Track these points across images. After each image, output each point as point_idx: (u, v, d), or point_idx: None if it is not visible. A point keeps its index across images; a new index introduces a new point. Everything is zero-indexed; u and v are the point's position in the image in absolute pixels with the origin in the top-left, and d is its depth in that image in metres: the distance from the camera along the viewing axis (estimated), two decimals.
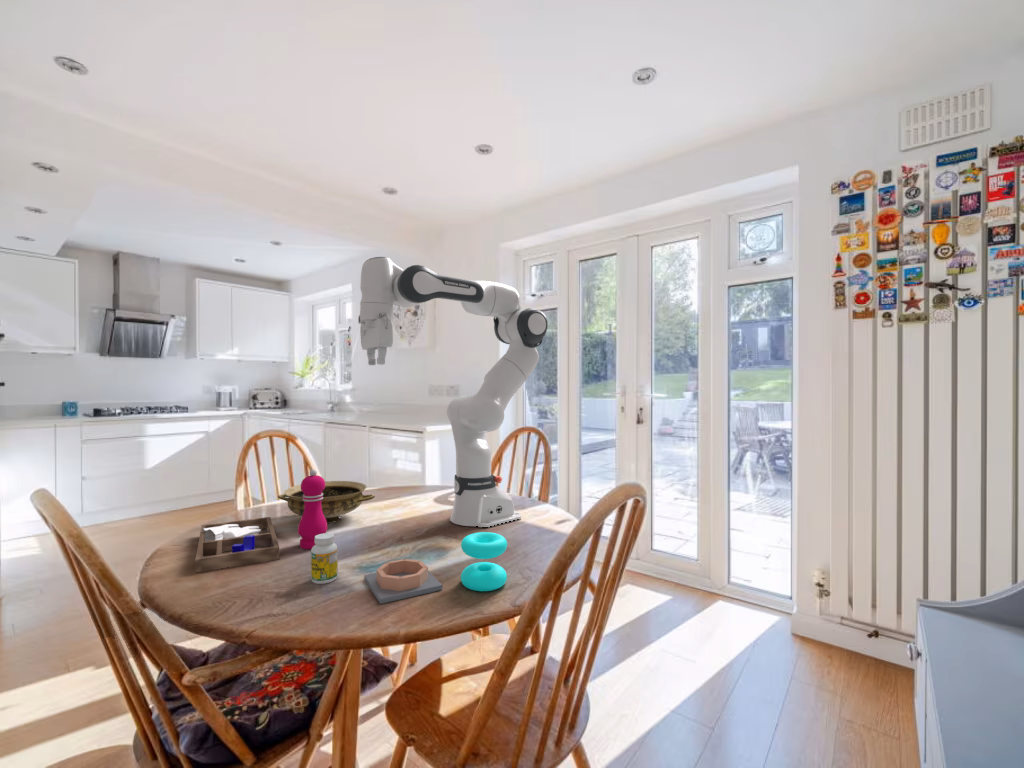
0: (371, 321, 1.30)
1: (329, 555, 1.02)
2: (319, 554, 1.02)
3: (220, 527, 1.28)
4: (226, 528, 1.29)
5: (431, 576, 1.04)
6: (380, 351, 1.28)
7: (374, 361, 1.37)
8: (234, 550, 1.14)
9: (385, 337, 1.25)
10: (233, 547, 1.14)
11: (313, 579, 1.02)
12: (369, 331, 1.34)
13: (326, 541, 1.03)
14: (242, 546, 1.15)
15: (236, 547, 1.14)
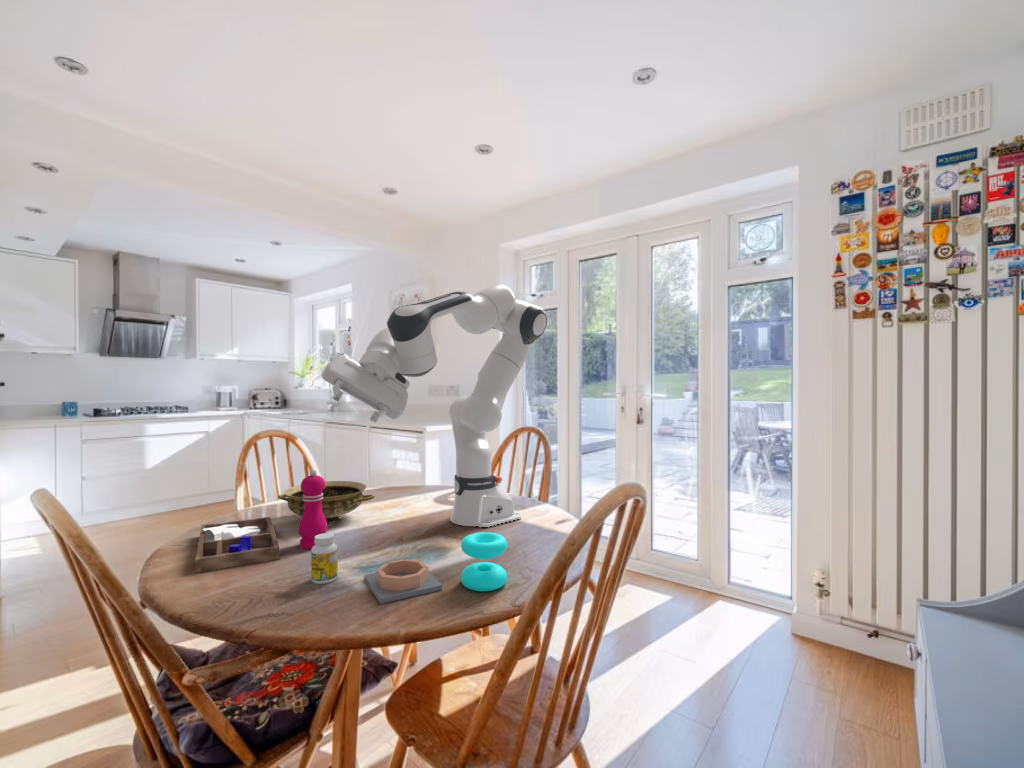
0: None
1: (329, 555, 1.02)
2: (319, 554, 1.02)
3: (219, 527, 1.28)
4: (225, 528, 1.29)
5: (431, 576, 1.04)
6: (333, 386, 1.07)
7: None
8: (231, 551, 1.13)
9: None
10: (230, 548, 1.13)
11: (313, 579, 1.02)
12: None
13: (326, 541, 1.03)
14: (239, 547, 1.14)
15: (233, 548, 1.13)
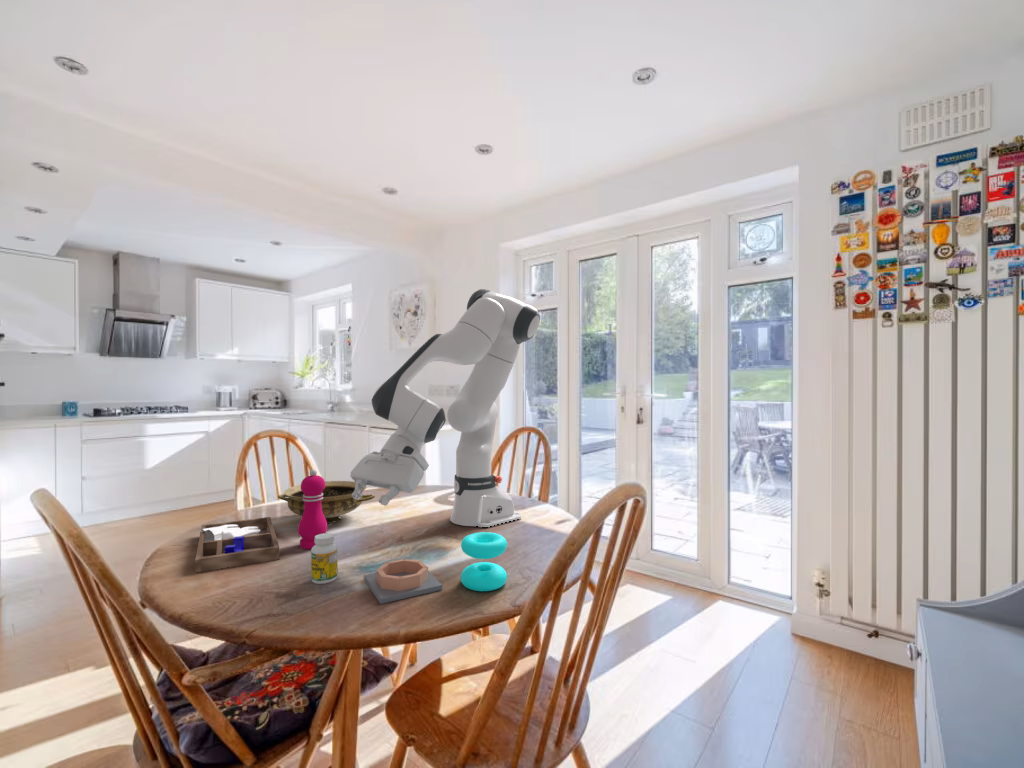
0: None
1: (329, 555, 1.02)
2: (319, 554, 1.02)
3: (219, 527, 1.28)
4: (225, 528, 1.29)
5: (431, 576, 1.04)
6: None
7: None
8: (227, 551, 1.13)
9: None
10: (226, 548, 1.13)
11: (313, 579, 1.02)
12: None
13: (326, 541, 1.03)
14: (235, 547, 1.14)
15: (229, 548, 1.13)
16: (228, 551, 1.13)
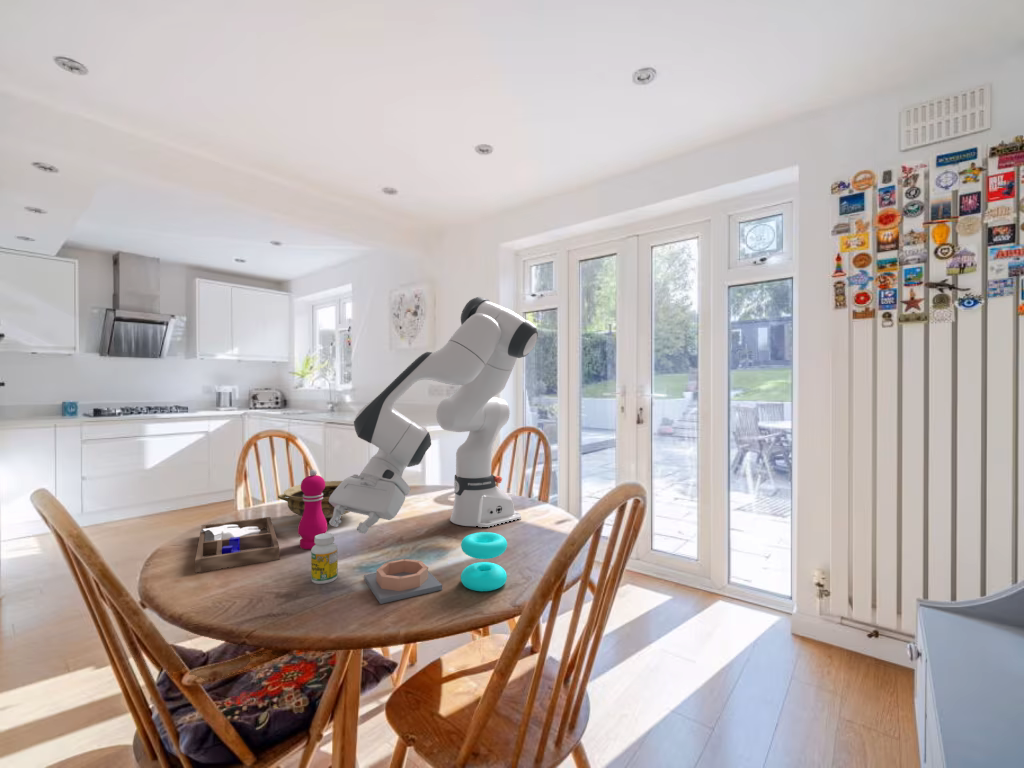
0: None
1: (329, 555, 1.02)
2: (319, 554, 1.02)
3: (219, 527, 1.28)
4: (225, 528, 1.29)
5: (431, 576, 1.04)
6: None
7: None
8: (224, 552, 1.12)
9: None
10: (223, 549, 1.12)
11: (313, 579, 1.02)
12: None
13: (326, 541, 1.03)
14: (232, 548, 1.14)
15: (226, 549, 1.12)
16: (225, 552, 1.12)
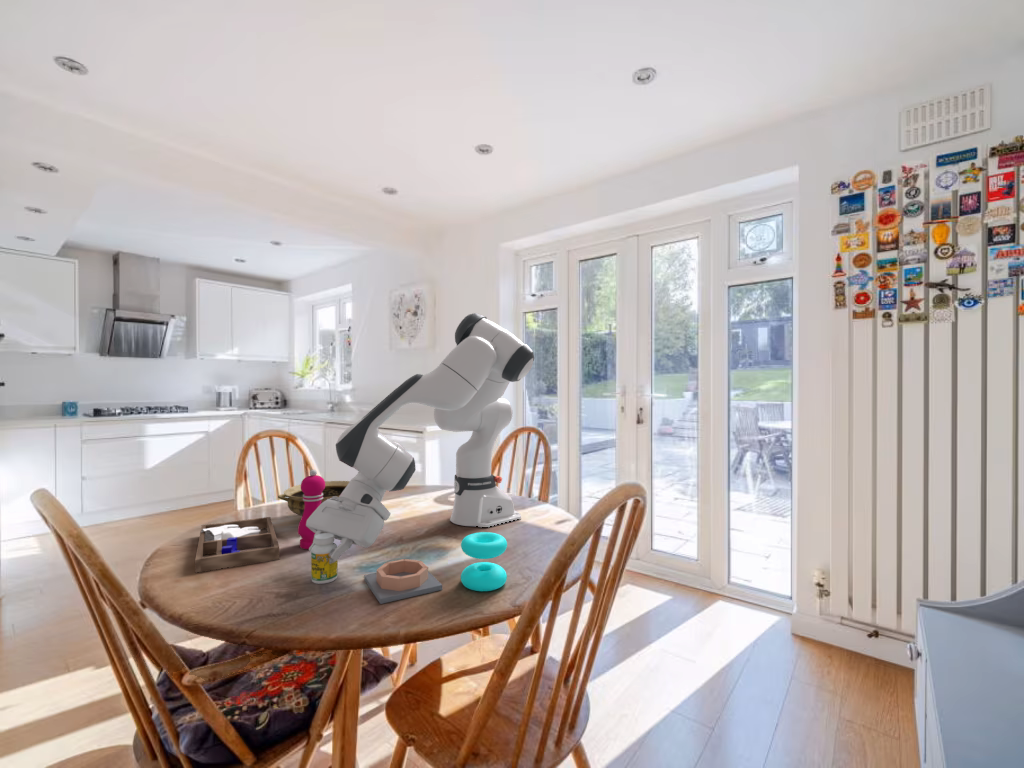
0: None
1: None
2: (319, 554, 1.02)
3: (219, 528, 1.28)
4: (225, 529, 1.29)
5: (431, 576, 1.04)
6: None
7: None
8: (224, 552, 1.12)
9: None
10: (223, 549, 1.12)
11: (313, 579, 1.02)
12: None
13: (326, 541, 1.03)
14: (232, 548, 1.14)
15: (226, 549, 1.12)
16: (225, 552, 1.12)
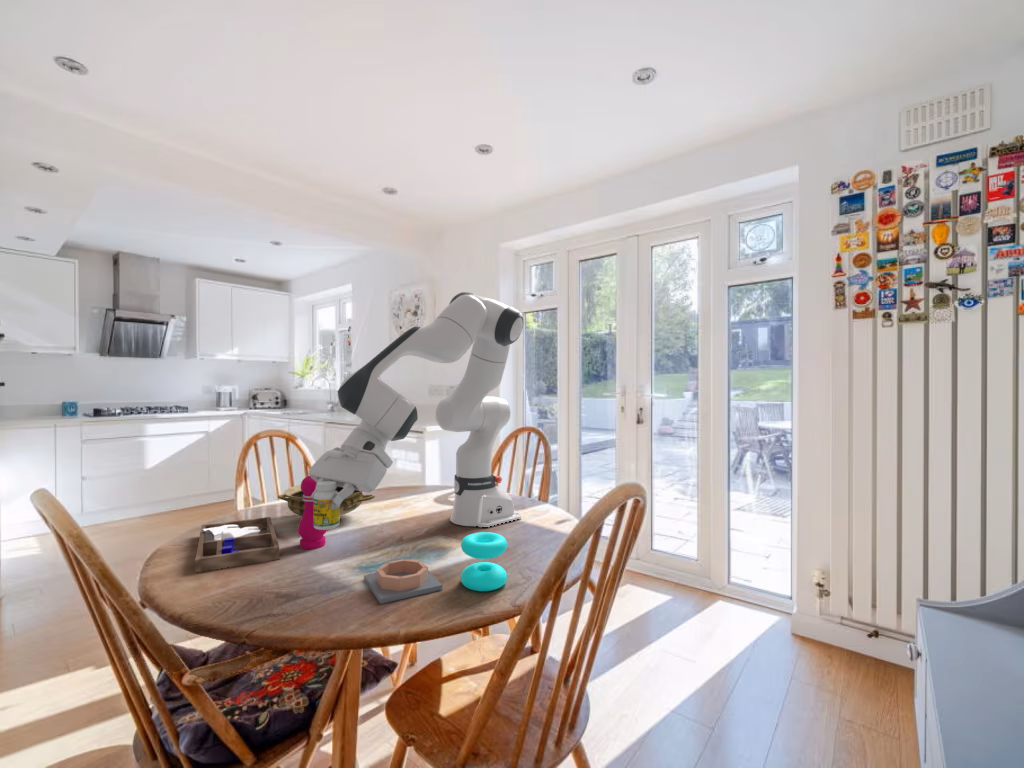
0: None
1: None
2: (321, 499, 1.02)
3: (219, 527, 1.28)
4: (225, 528, 1.29)
5: (431, 576, 1.04)
6: None
7: None
8: (224, 552, 1.12)
9: None
10: (223, 550, 1.12)
11: (315, 525, 1.02)
12: None
13: (328, 488, 1.03)
14: (231, 548, 1.14)
15: (226, 549, 1.12)
16: (225, 552, 1.12)
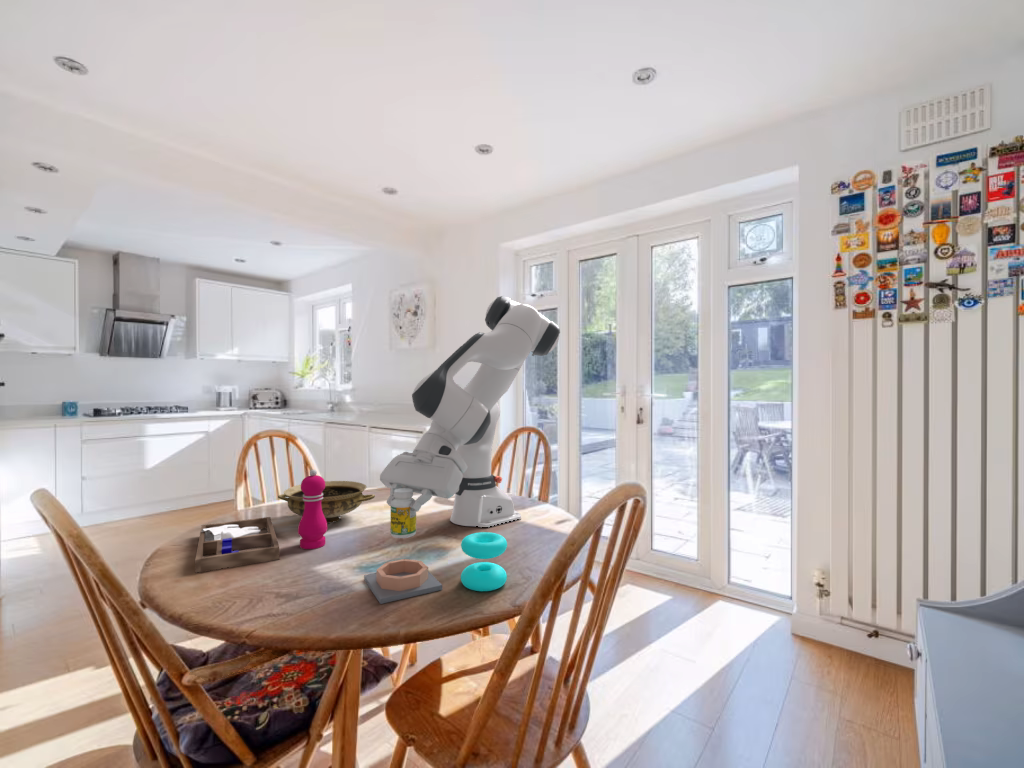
0: None
1: (409, 508, 1.00)
2: (400, 507, 0.99)
3: (219, 527, 1.28)
4: (225, 528, 1.29)
5: (431, 576, 1.04)
6: None
7: None
8: (224, 553, 1.12)
9: None
10: (223, 550, 1.12)
11: (393, 533, 1.00)
12: None
13: (406, 495, 1.00)
14: (231, 548, 1.13)
15: (226, 549, 1.12)
16: (225, 552, 1.12)
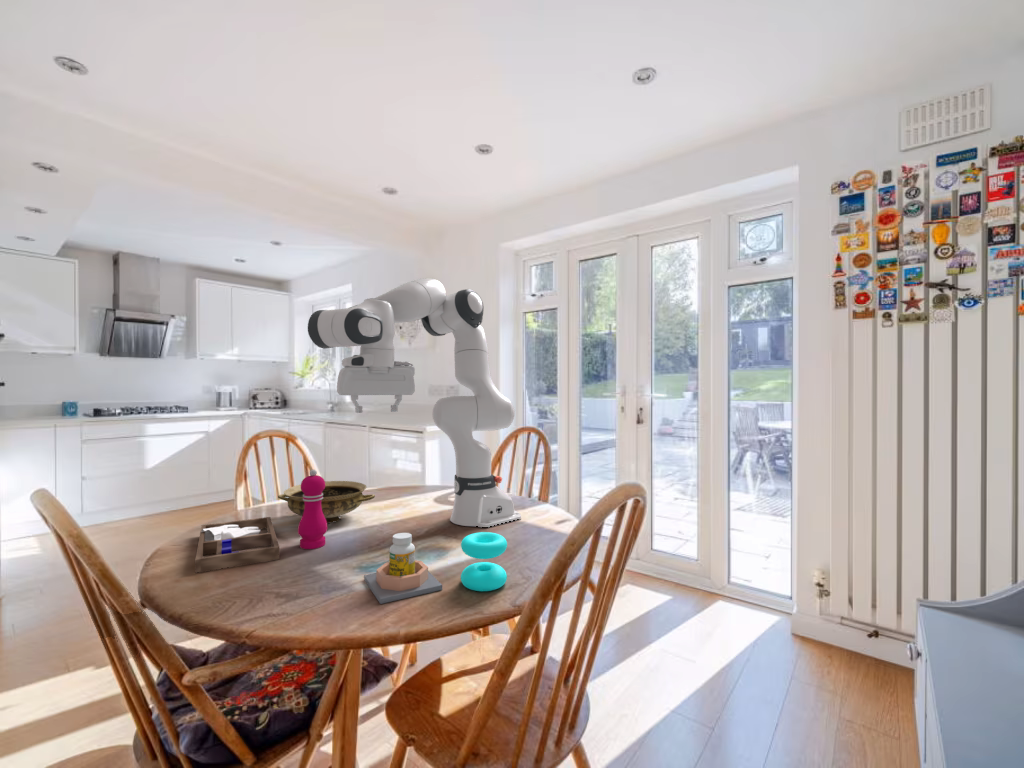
0: (388, 368, 1.27)
1: (408, 555, 1.00)
2: (399, 554, 0.99)
3: (219, 527, 1.28)
4: (225, 528, 1.29)
5: (431, 576, 1.04)
6: None
7: None
8: None
9: None
10: (223, 551, 1.11)
11: None
12: (372, 377, 1.25)
13: (405, 541, 1.00)
14: (231, 549, 1.13)
15: (226, 550, 1.11)
16: (225, 553, 1.11)
